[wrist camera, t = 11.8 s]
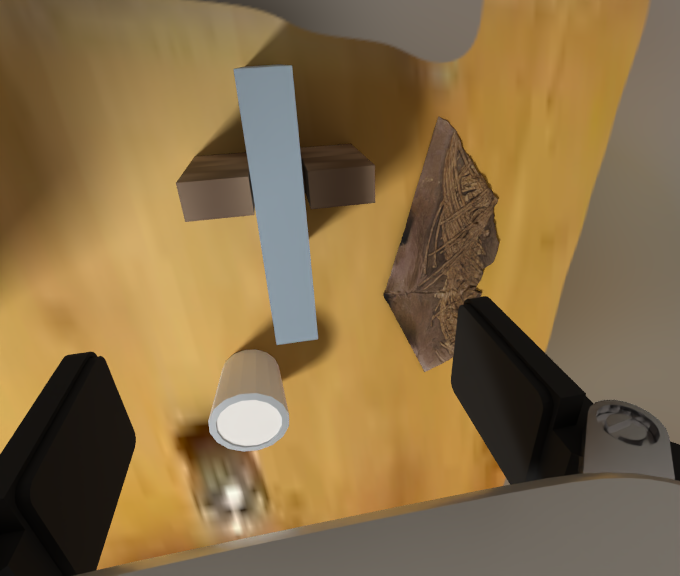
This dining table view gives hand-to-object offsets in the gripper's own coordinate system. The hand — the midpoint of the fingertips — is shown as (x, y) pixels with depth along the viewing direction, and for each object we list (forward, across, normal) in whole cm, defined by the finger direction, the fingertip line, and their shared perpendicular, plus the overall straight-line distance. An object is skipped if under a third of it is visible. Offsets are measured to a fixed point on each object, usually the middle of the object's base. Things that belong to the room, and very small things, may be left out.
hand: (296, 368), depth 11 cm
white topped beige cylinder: (+25, +4, +20) cm, 32 cm away
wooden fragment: (+25, -15, +10) cm, 31 cm away
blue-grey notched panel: (+25, 0, 0) cm, 25 cm away
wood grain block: (+25, -1, 0) cm, 25 cm away
